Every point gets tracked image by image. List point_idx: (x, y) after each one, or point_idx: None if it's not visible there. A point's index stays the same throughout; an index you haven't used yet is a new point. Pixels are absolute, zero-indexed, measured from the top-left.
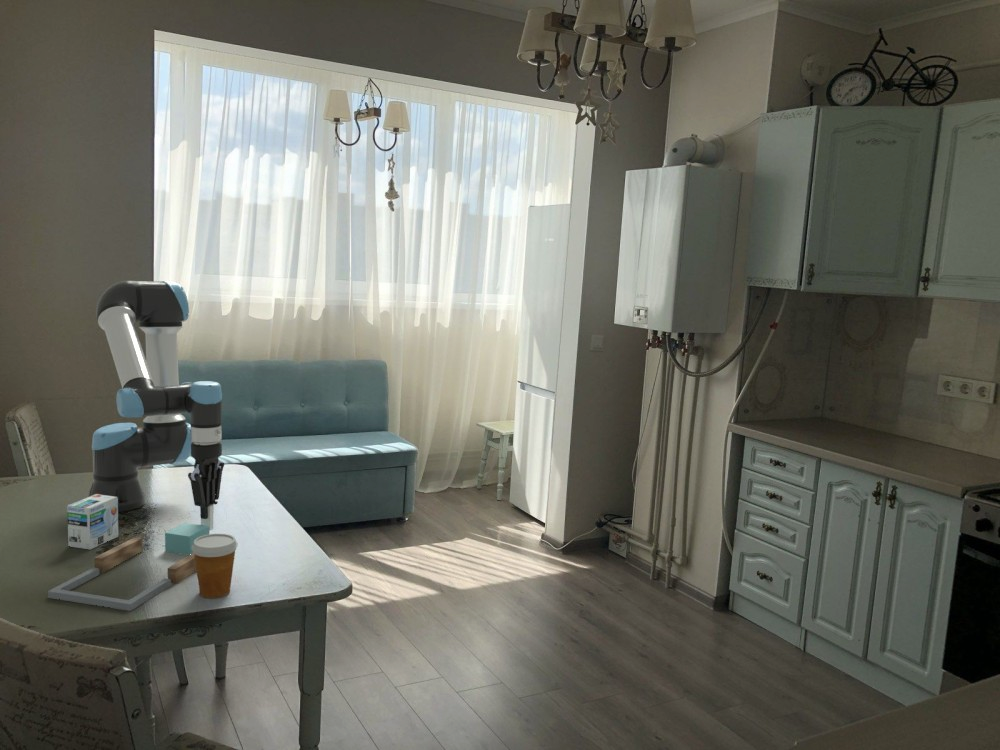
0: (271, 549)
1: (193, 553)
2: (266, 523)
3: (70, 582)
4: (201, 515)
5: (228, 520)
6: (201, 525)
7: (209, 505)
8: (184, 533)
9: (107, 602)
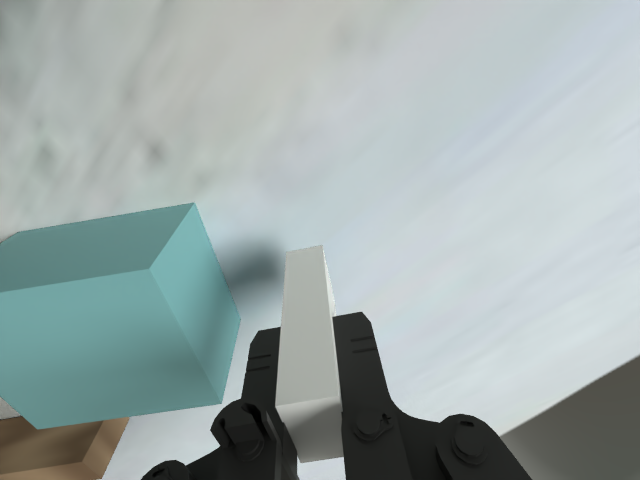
0: (328, 460)
1: (6, 476)
2: (574, 331)
3: None
4: (251, 361)
5: (596, 161)
6: (197, 373)
7: (326, 445)
8: (31, 392)
9: None
